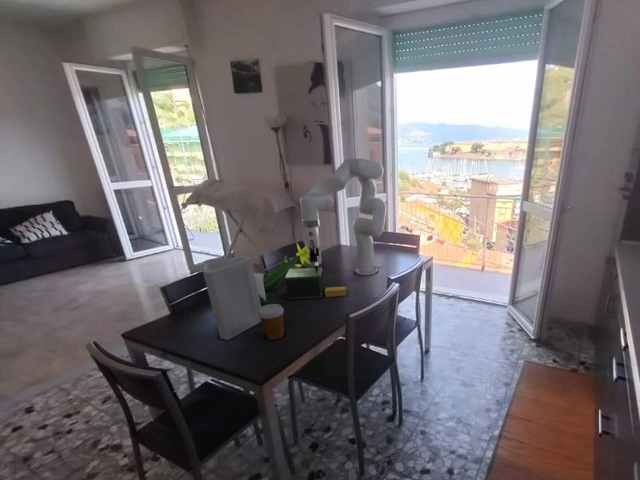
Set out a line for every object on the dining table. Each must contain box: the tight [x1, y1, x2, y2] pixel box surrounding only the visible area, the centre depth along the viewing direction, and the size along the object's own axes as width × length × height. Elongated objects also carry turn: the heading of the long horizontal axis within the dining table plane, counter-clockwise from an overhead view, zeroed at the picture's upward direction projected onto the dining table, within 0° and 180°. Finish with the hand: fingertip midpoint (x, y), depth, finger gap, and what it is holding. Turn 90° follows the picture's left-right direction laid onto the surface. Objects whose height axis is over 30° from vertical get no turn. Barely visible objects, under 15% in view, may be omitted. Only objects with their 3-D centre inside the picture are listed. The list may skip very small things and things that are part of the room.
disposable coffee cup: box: [258, 303, 285, 341], centre depth 139 cm, size 10×10×12 cm
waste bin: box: [284, 273, 324, 301], centre depth 177 cm, size 16×13×11 cm
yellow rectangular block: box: [324, 286, 347, 298], centre depth 177 cm, size 10×4×3 cm, turn 96°
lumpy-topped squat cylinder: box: [301, 249, 323, 268], centre depth 221 cm, size 10×13×9 cm
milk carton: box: [254, 272, 269, 307], centre depth 156 cm, size 9×9×20 cm
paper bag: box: [201, 256, 262, 341], centre depth 144 cm, size 19×15×28 cm
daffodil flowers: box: [263, 242, 311, 292], centre depth 194 cm, size 17×15×35 cm
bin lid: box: [285, 262, 323, 279], centre depth 174 cm, size 16×13×5 cm
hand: (315, 258), depth 172 cm, fingers open, 9 cm apart
